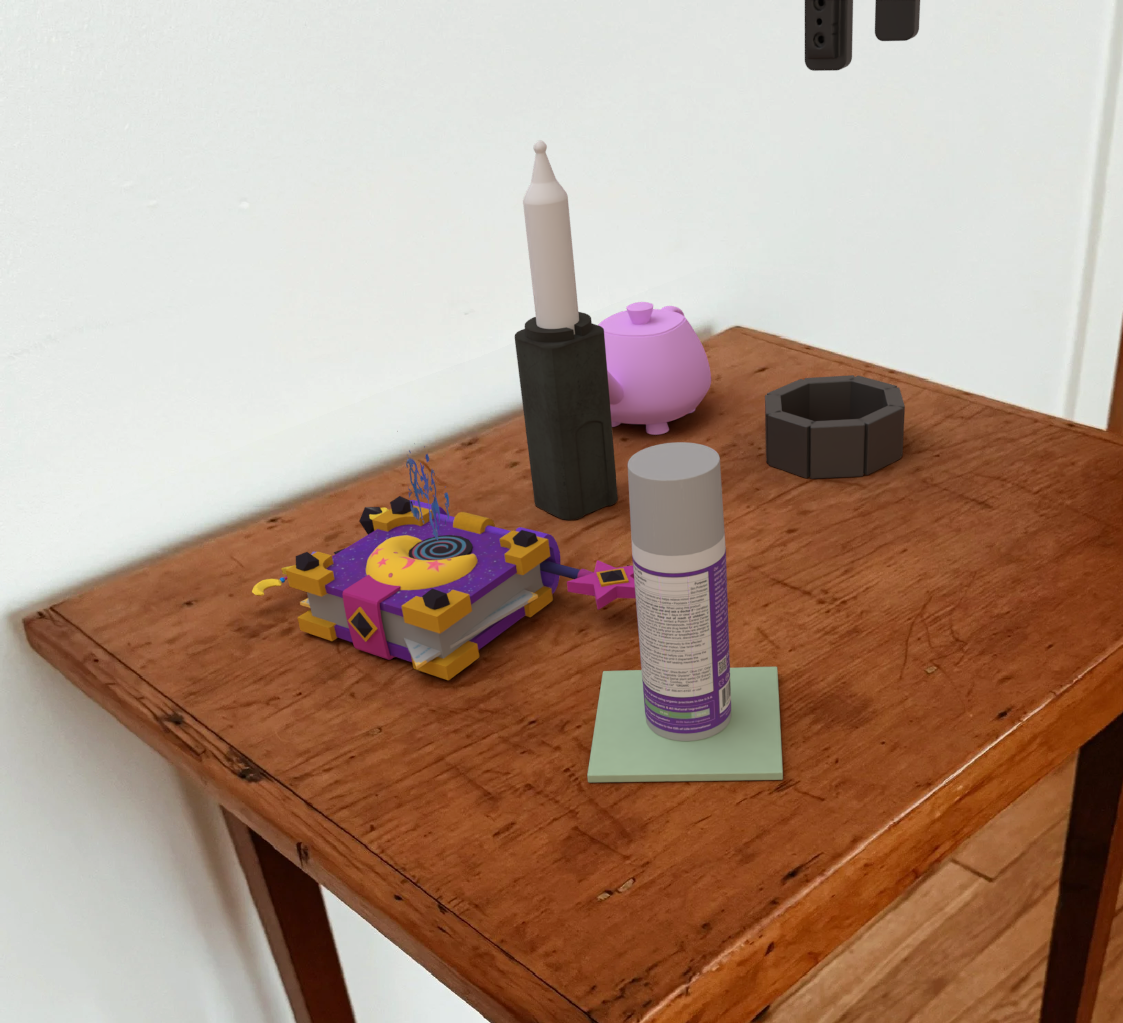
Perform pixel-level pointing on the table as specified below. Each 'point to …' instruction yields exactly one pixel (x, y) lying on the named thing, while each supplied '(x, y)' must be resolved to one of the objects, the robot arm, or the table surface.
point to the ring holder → (834, 426)
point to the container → (681, 589)
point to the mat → (647, 757)
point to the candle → (562, 366)
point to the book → (436, 583)
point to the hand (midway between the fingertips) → (863, 53)
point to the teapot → (653, 366)
